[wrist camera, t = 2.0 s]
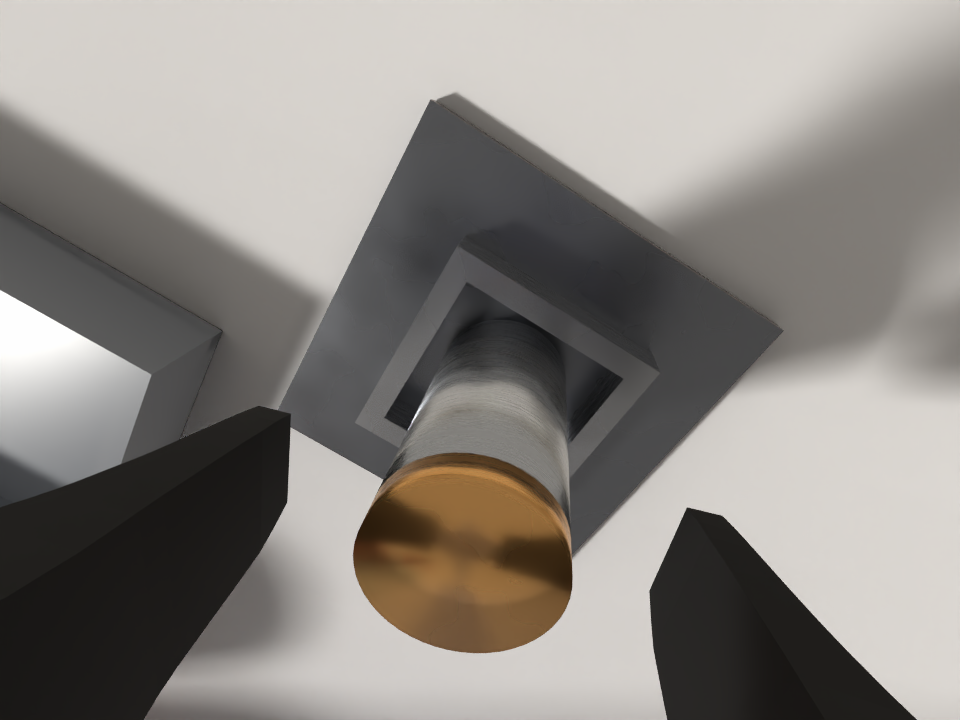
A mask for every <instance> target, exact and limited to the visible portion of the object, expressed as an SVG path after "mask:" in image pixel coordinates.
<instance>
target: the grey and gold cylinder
mask: <svg viewBox="0 0 960 720" xmlns="http://www.w3.org/2000/svg"><path fill="white" fill-rule="evenodd" d="M353 560H354V568H355V573H356V577H357V579H358V582H359V585H360V587H361V589H362V591H363V593H364V595H365V596H366V597H367V599H368V600H369V602H370V603H371V605H372V606H373V607H374V608H375V609H376V610H377V611H378V612H379V614H381V615H382V616H383V617H384V618H385V619H386V620H387V621H388V622H390V623H391V624H392V625H394V626H395V627H396V628H398V629H399V630H401V631H402V632H404V633H406V634H408V635H409V636H411V637H413V638H415V639H417V640H420V641H422V642H424V643H427V644H430V645H432V646H435V647H439V648H443V649H447V650H452V651H458V652H467V653H491V652H500V651H504V650H509V649H513V648H516V647H519V646H522V645H525V644H527V643H529V642H531V641H533V640H535V639H537V638H538V637H540V636H541V635H543V634H545V633H546V632H547V631H548V630H549V629H550V628H552V627H553V626H554V625H555V623H556V622H557V621H558V620H559V619H560V617H561V616H562V614H563V613H564V611H565V609H566V607H567V605H568V602H569V600H570V596H571V591H572V551H571V522H570V492H569V463H568V434H567V404H566V375H565V368H564V365H563V361H562V359H561V356H560V354H559V352H558V351H557V349H556V348H555V346H554V345H553V344H552V343H551V341H550V340H549V339H548V338H547V337H545V336H544V335H543V334H542V333H540V332H539V331H538V330H536V329H534V328H532V327H530V326H528V325H525V324H523V323H520V322H516V321H510V320H491V321H485V322H482V323H478V324H476V325H474V326H471V327H470V328H468V329H466V330H465V331H463V332H462V333H461V334H459V335H458V336H457V337H456V338H455V339H454V340H453V342H452V343H451V344H450V346H449V347H448V349H447V351H446V353H445V355H444V357H443V359H442V361H441V363H440V365H439V367H438V369H437V371H436V373H435V375H434V377H433V380H432V382H431V384H430V386H429V388H428V390H427V392H426V394H425V396H424V398H423V400H422V402H421V404H420V406H419V408H418V410H417V412H416V414H415V416H414V418H413V420H412V423H411V425H410V427H409V429H408V431H407V433H406V435H405V437H404V439H403V441H402V443H401V445H400V447H399V449H398V451H397V453H396V455H395V457H394V459H393V461H392V464H391V466H390V468H389V470H388V472H387V474H386V476H385V478H384V480H383V482H382V484H381V486H380V488H379V490H378V492H377V494H376V496H375V498H374V500H373V502H372V505H371V507H370V509H369V511H368V513H367V515H366V517H365V519H364V521H363V523H362V525H361V527H360V529H359V531H358V534H357V537H356V540H355V544H354V551H353Z"/></svg>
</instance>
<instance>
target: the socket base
mask: <svg viewBox="0 0 960 720" xmlns="http://www.w3.org/2000/svg"><path fill="white" fill-rule="evenodd" d="M491 320H510V321H516V322H520V323H523V324H525V325H528V326H530V327H532V328H534V329H536V330H538V331H539V332H540V333H542V334H543V335H544V336H545V337H547V338H548V339H549V340H550V341H551V343H552V344H553V345H554V346H555V348H556V349H557V351H558V352H559V354H560V356H561V359H562V361H563V365H564V368H565V375H566V404H567V434H568V463H569V492H570V522H571V551H572V554H573V553H574V552H575V551H576V550H577V549H578V548H579V547H580V546H581V544H582V543H583V542H584V541H585V540H586V539H587V538H588V537H589V536H590V535H591V534H592V533H593V532H594V531H595V530H596V529H597V528H598V526H599V525H600V524H601V523H602V522H603V521H604V520H605V519H606V518H607V517H608V516H609V515H610V514H611V513H612V512H613V511H614V510H615V508H616V507H617V506H618V505H619V504H620V503H621V502H622V501H623V500H624V499H625V498H626V497H627V496H628V495H629V494H630V493H631V492H632V491H633V489H634V488H635V487H636V486H637V485H638V484H639V483H640V482H641V481H642V480H643V479H644V478H645V477H646V476H647V475H648V474H649V473H650V471H651V470H652V469H653V468H654V467H655V466H656V465H657V464H658V463H659V462H660V461H661V460H662V459H663V458H664V457H665V456H666V455H667V453H668V452H669V451H670V450H671V449H672V448H673V447H674V446H675V445H676V444H677V443H678V442H679V441H680V440H681V439H682V438H683V437H684V435H685V434H686V433H687V432H688V431H689V430H690V429H691V428H692V427H693V426H694V425H695V424H696V423H697V422H698V421H699V420H700V419H701V418H702V416H703V415H704V414H705V413H706V412H707V411H708V410H709V409H710V408H711V407H712V406H713V405H714V404H715V403H716V402H717V401H718V400H719V398H720V397H721V396H722V395H723V394H724V393H725V392H726V391H727V390H728V389H729V388H730V387H731V386H732V385H733V384H734V383H735V382H736V380H737V379H738V378H739V377H740V376H741V375H742V374H743V373H744V372H745V371H746V370H747V369H748V368H749V367H750V366H751V365H752V364H753V362H754V361H755V360H756V359H757V358H758V357H759V356H760V355H761V354H762V353H763V352H764V351H765V350H766V349H767V348H768V347H769V346H770V345H771V343H772V342H773V341H774V340H775V339H776V338H777V337H778V336H779V335H780V334H781V333H782V332H783V330H782V329H781V328H780V327H779V326H778V325H777V324H775V323H773V322H772V321H770V320H769V319H767V318H766V317H764V316H763V315H761V314H760V313H758V312H757V311H755V310H754V309H752V308H751V307H749V306H748V305H746V304H745V303H743V302H741V301H740V300H738V299H737V298H735V297H734V296H732V295H731V294H729V293H728V292H726V291H725V290H723V289H722V288H720V287H719V286H717V285H716V284H714V283H712V282H711V281H709V280H708V279H706V278H705V277H703V276H702V275H700V274H699V273H697V272H696V271H694V270H693V269H691V268H690V267H688V266H687V265H685V264H684V263H682V262H680V261H679V260H677V259H676V258H674V257H673V256H671V255H670V254H668V253H667V252H665V251H664V250H662V249H661V248H659V247H658V246H656V245H655V244H653V243H651V242H650V241H648V240H647V239H645V238H644V237H642V236H641V235H639V234H638V233H636V232H635V231H633V230H632V229H630V228H629V227H627V226H626V225H624V224H623V223H621V222H619V221H618V220H616V219H615V218H613V217H612V216H610V215H609V214H607V213H606V212H604V211H603V210H601V209H600V208H598V207H597V206H595V205H594V204H592V203H590V202H589V201H587V200H586V199H584V198H583V197H581V196H580V195H578V194H577V193H575V192H574V191H572V190H571V189H569V188H568V187H566V186H565V185H563V184H562V183H560V182H558V181H557V180H555V179H554V178H552V177H551V176H549V175H548V174H546V173H545V172H543V171H542V170H540V169H539V168H537V167H536V166H534V165H533V164H531V163H529V162H528V161H526V160H525V159H523V158H522V157H520V156H519V155H517V154H516V153H514V152H513V151H511V150H510V149H508V148H507V147H505V146H504V145H502V144H501V143H499V142H497V141H496V140H494V139H493V138H491V137H490V136H488V135H487V134H485V133H484V132H482V131H481V130H479V129H478V128H476V127H475V126H473V125H472V124H470V123H468V122H467V121H465V120H464V119H462V118H461V117H459V116H458V115H456V114H455V113H453V112H452V111H450V110H449V109H447V108H446V107H444V106H443V105H441V104H440V103H438V102H436V101H435V100H430V102H429V104H428V106H427V108H426V110H425V112H424V114H423V116H422V118H421V120H420V122H419V124H418V126H417V128H416V130H415V132H414V134H413V136H412V138H411V140H410V142H409V144H408V146H407V148H406V151H405V153H404V155H403V157H402V159H401V161H400V163H399V165H398V167H397V169H396V171H395V173H394V175H393V177H392V179H391V181H390V183H389V185H388V187H387V189H386V191H385V193H384V195H383V197H382V199H381V201H380V203H379V206H378V208H377V210H376V212H375V214H374V216H373V218H372V220H371V222H370V224H369V226H368V228H367V230H366V232H365V234H364V236H363V238H362V240H361V242H360V244H359V246H358V248H357V250H356V252H355V254H354V256H353V258H352V261H351V263H350V265H349V267H348V269H347V271H346V273H345V275H344V277H343V279H342V281H341V283H340V285H339V287H338V289H337V291H336V293H335V295H334V297H333V299H332V301H331V303H330V305H329V307H328V309H327V311H326V313H325V316H324V318H323V320H322V322H321V324H320V326H319V328H318V330H317V332H316V334H315V336H314V338H313V340H312V342H311V344H310V346H309V348H308V350H307V352H306V354H305V356H304V358H303V360H302V362H301V364H300V366H299V368H298V371H297V373H296V375H295V377H294V379H293V381H292V383H291V385H290V387H289V389H288V391H287V393H286V395H285V397H284V399H283V401H282V403H281V405H280V407H279V409H278V411H282V412H286V413H290V414H291V425H290V427H291V428H293V429H295V430H297V431H299V432H300V433H302V434H304V435H306V436H307V437H309V438H311V439H313V440H314V441H316V442H318V443H320V444H322V445H323V446H325V447H327V448H329V449H330V450H332V451H334V452H336V453H338V454H339V455H341V456H343V457H345V458H346V459H348V460H350V461H352V462H354V463H355V464H357V465H359V466H361V467H362V468H364V469H366V470H368V471H369V472H371V473H373V474H375V475H377V476H378V477H380V478H382V479H384V478H385V476H386V474H387V472H388V470H389V468H390V466H391V464H392V461H393V459H394V457H395V455H396V453H397V451H398V449H399V447H400V445H401V443H402V441H403V439H404V437H405V435H406V433H407V431H408V429H409V427H410V425H411V423H412V420H413V418H414V416H415V414H416V412H417V410H418V408H419V406H420V404H421V402H422V400H423V398H424V396H425V394H426V392H427V390H428V388H429V386H430V384H431V382H432V380H433V377H434V375H435V373H436V371H437V369H438V367H439V365H440V363H441V361H442V359H443V357H444V355H445V353H446V351H447V349H448V347H449V346H450V344H451V343H452V342H453V340H454V339H455V338H456V337H457V336H458V335H459V334H461V333H462V332H463V331H465V330H466V329H468V328H470V327H471V326H474V325H476V324H478V323H482V322H485V321H491Z"/></svg>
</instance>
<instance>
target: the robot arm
mask: <svg viewBox="0 0 960 720" xmlns="http://www.w3.org/2000/svg"><path fill="white" fill-rule="evenodd" d="M290 425H291V414H290V413H286V412H282V411H278V410H273V409H269V408H265V407H261V406H258V407H255V408H252V409H249V410H247V411H244V412H242V413H239V414H237V415H235V416H232V417H230V418H228V419H225V420H223V421H221V422H219V423H216V424H214V425H212V426H210V427H207V428H205V429H203V430H201V431H198V432H196V433H194V434H191V435H189V436H187V437H185V438H182V439H180V440H178V441H175V442H173V443H171V444H168V445H166V446H164V447H161V448H159V449H157V450H154V451H152V452H150V453H147V454H145V455H143V456H140V457H138V458H135V459H132V460H130V461H127V462H125V463H122V464H120V465H117V466H115V467H112V468H109V469H107V470H104V471H102V472H99V473H97V474H94V475H92V476H89V477H86V478H84V479H81V480H79V481H76V482H74V483H71V484H68V485H65V486H63V487H60V488H57V489H54V490H51V491H48V492H45V493H42V494H39V495H37V496H34V497H31V498H28V499H24V500H21V501H18V502H15V503H12V504H9V505H5V506H2V507H0V720H144V718H145V716H146V715H147V713H148V711H149V710H150V708H151V706H152V705H153V703H154V701H155V700H156V698H157V696H158V695H159V693H160V692H161V690H162V689H163V687H164V686H165V684H166V683H167V681H168V680H169V678H170V677H171V675H172V674H173V672H174V671H175V669H176V668H177V666H178V665H179V664H180V662H181V661H182V660H183V658H184V657H185V655H186V654H187V653H188V651H189V650H190V649H191V647H192V646H193V644H194V643H195V642H196V640H197V639H198V637H199V636H200V635H201V633H202V632H203V631H204V629H205V628H206V626H207V625H208V624H209V622H210V621H211V620H212V618H213V617H214V615H215V614H216V613H217V611H218V610H219V609H220V607H221V606H222V604H223V603H224V602H225V600H226V599H227V598H228V596H229V595H230V593H231V592H232V591H233V589H234V588H235V586H236V585H237V584H238V582H239V581H240V579H241V578H242V577H243V575H244V574H245V572H246V571H247V570H248V568H249V567H250V565H251V564H252V563H253V561H254V560H255V558H256V557H257V555H258V554H259V553H260V551H261V549H262V548H263V546H264V544H265V542H266V541H267V539H268V537H269V535H270V533H271V532H272V530H273V528H274V526H275V524H276V522H277V521H278V519H279V517H280V515H281V513H282V511H283V509H284V507H285V505H286V504H287V495H288V472H289V448H290ZM650 608H651V624H652V636H653V648H654V654H655V659H656V665H657V670H658V675H659V680H660V685H661V690H662V696H663V701H664V706H665V711H666V715H667V720H917V719H916V718H915V717H913V716H912V715H911V714H910V713H909V712H908V711H907V710H906V709H905V708H904V707H903V706H902V705H901V704H900V703H899V702H898V701H897V700H896V699H895V698H894V697H893V696H892V695H890V694H889V693H888V692H887V691H886V690H885V689H884V688H883V687H882V686H881V685H880V684H879V683H878V682H877V681H876V680H875V679H874V678H873V677H872V676H871V675H870V674H869V672H868V671H867V670H866V669H865V668H864V667H863V666H862V665H861V664H860V663H859V662H858V661H857V660H856V659H855V658H854V657H853V656H852V655H851V654H850V653H849V652H848V651H847V650H846V649H845V648H844V647H843V646H842V645H841V644H840V643H839V642H838V641H837V640H836V639H835V638H834V637H833V636H832V635H831V634H830V633H829V631H828V630H827V629H826V628H825V627H824V626H823V625H822V624H821V623H820V622H819V621H818V620H817V619H816V618H815V617H814V615H813V614H812V613H811V612H810V611H809V610H808V609H807V608H806V607H805V606H804V605H803V603H802V602H801V601H800V600H799V599H798V598H797V597H796V596H795V595H794V594H793V592H792V591H791V590H790V589H789V588H788V587H787V586H786V585H785V584H784V582H783V581H782V580H781V579H780V578H779V577H778V576H777V575H776V574H775V572H774V571H773V570H772V569H771V568H770V567H769V566H768V565H767V563H766V562H765V561H764V560H763V559H762V558H761V557H760V556H759V555H758V553H757V552H756V551H755V550H754V549H753V548H752V547H751V546H750V545H749V543H748V542H747V541H746V540H745V539H744V538H743V537H742V536H741V535H740V534H739V533H738V531H737V530H736V529H735V528H734V527H733V526H732V525H731V524H730V523H729V522H728V521H727V520H726V519H725V518H724V517H723V516H721V515H717V514H712V513H708V512H704V511H700V510H695V509H691V508H687V509H686V511H685V513H684V516H683V518H682V520H681V522H680V525H679V527H678V529H677V531H676V533H675V536H674V538H673V540H672V542H671V544H670V547H669V549H668V551H667V553H666V555H665V558H664V560H663V562H662V564H661V566H660V569H659V571H658V573H657V575H656V578H655V580H654V582H653V584H652V586H651V589H650Z"/></svg>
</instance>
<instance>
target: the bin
mask: <svg viewBox="0 0 960 720" xmlns="http://www.w3.org/2000/svg"><path fill="white" fill-rule="evenodd" d="M221 333H222V330H220V329H218V328H216V327H215V326H213V325H211V324H209V323H208V322H206V321H204V320H202V319H201V318H199V317H197V316H195V315H194V314H192V313H190V312H189V311H187V310H185V309H183V308H182V307H180V306H178V305H176V304H175V303H173V302H171V301H169V300H168V299H166V298H164V297H163V296H161V295H159V294H157V293H156V292H154V291H152V290H150V289H149V288H147V287H145V286H143V285H142V284H140V283H138V282H136V281H135V280H133V279H131V278H130V277H128V276H126V275H124V274H123V273H121V272H119V271H117V270H116V269H114V268H112V267H110V266H109V265H107V264H105V263H104V262H102V261H100V260H98V259H97V258H95V257H93V256H91V255H90V254H88V253H86V252H84V251H83V250H81V249H79V248H77V247H76V246H74V245H72V244H71V243H69V242H67V241H65V240H64V239H62V238H60V237H58V236H57V235H55V234H53V233H51V232H50V231H48V230H46V229H44V228H43V227H41V226H39V225H38V224H36V223H34V222H32V221H31V220H29V219H27V218H25V217H24V216H22V215H20V214H18V213H17V212H15V211H13V210H12V209H10V208H8V207H6V206H5V205H3V204H1V203H0V507H2V506H5V505H9V504H12V503H15V502H18V501H21V500H24V499H28V498H31V497H34V496H37V495H39V494H42V493H45V492H48V491H51V490H54V489H57V488H60V487H63V486H65V485H68V484H71V483H74V482H76V481H79V480H81V479H84V478H86V477H89V476H92V475H94V474H97V473H99V472H102V471H104V470H107V469H109V468H112V467H115V466H117V465H120V464H122V463H125V462H127V461H130V460H132V459H135V458H138V457H140V456H143V455H145V454H147V453H150V452H152V451H154V450H157V449H159V448H161V447H164V446H166V445H168V444H171V443H173V442H175V441H178V440H179V439H180V436H181V434H182V431H183V429H184V426H185V424H186V421H187V418H188V416H189V413H190V411H191V408H192V406H193V403H194V401H195V398H196V396H197V393H198V391H199V388H200V386H201V383H202V381H203V378H204V376H205V373H206V371H207V368H208V366H209V363H210V361H211V358H212V356H213V353H214V351H215V348H216V346H217V343H218V341H219V338H220V336H221Z"/></svg>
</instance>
